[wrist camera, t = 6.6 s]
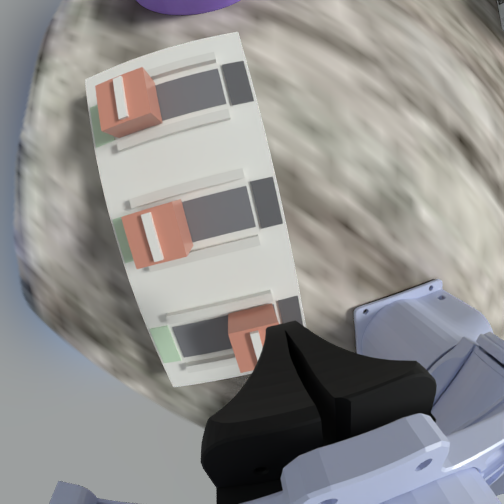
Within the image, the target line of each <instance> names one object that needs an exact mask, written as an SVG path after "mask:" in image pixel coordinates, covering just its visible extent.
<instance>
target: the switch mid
mask: <svg viewBox="0 0 504 504" xmlns="http://www.w3.org/2000/svg"><path fill="white" fill-rule="evenodd" d="M121 219H122V222H123V226H124V229H125V233H126V236H127V240H128V243H129V247H130V250H131V253H132V256H133V260H134V263H135V266H136V269H140V268H144V267H148V266H152V265H156V264H160V263H164V262H168V261H172V260H176V259H180V258H184V257H187V256H188V254H189V252H190V251H191V249H192V247H193V242H192V239H191V235H190V231H189V228H188V224H187V220H186V216H185V212H184V209H183V205H182V201H181V199H179V200H176V201H172V202H169V203H165V204H162V205H158V206H155V207H151V208H148V209H145V210H141V211H138V212H135V213H132V214H129V215H126V216H123V217H121Z"/></svg>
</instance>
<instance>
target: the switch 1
mask: <svg viewBox="0 0 504 504" xmlns="http://www.w3.org/2000/svg"><path fill="white" fill-rule="evenodd" d="M95 89H96V97H97V105H98V112H99V119H100V125H101V131H102V132H105V133H107V134H110V135H113V136H115V137H118V138H121V137H123V136H126V135H129V134H131V133H134V132H137V131H140V130H143V129H146V128H149V127H152V126H155V125H158V124H161V123H163V122H162V118H161V113H160V108H159V103H158V97H157V92H156V87H155V82H154V81H153V79H152V78H151V77H150V76H149V74H148V73H147V72H146V70H145V69H144V68H143V67H141V68H138V69H135V70H133V71H130V72H127V73H125V74H122V75H120V76H117V77H115V78H112V79H110V80H107V81H105V82H103V83H100V84H98V85H96V86H95Z"/></svg>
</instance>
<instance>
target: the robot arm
mask: <svg viewBox="0 0 504 504" xmlns="http://www.w3.org/2000/svg"><path fill="white" fill-rule="evenodd" d="M430 286H431V287H430ZM429 287H430V289H429ZM365 309H367V311H366V312H365V313H363V311H364V310H365ZM354 324H355V337H356V352H357V353H353V352H350V351H348V350H345V349H342V348H340V347H337V346H335V345H333V344H331V343H329V342H327V341H325V340H324V339H322V338H320V337H319V336H317V335H316V334H314V333H313V332H311V331H310V330H308V329H307V328H306V327H304V326H303V325H302V324H300V323H299V322H297V321H296V320H295V321H291V322H287V323H282V324H278V325H274V326H270V327H267V328H266V335H265V341H264V345H263V348H262V352H261V354H260V357H259V359H258V362H257V364H256V366H255V368H254V370H253V372H252V374H251V376H250V377H249V379H248V380H247V382H246V383H245V385H244V386H243V387H242V389H241V390H240V391H239V393H238V394H237V395H236V396H235V397H234V398H233V399H232V400H231V401H230V402H229V403H228V404H227V405H226V406H225V407H223V408H222V409H221V410H219V411H218V412H217V413H216V414H214V415H213V416H212V417H210V418H209V419H208V421H207V424H206V428H205V431H204V435H203V440H202V447H201V464H202V466H203V469H204V470H205V472H206V473H207V475H208V476H209V478H210V479H211V481H212V482H213V483H214V485H215V486H216V488H217V504H501V502H500V501H499V499H498V498H497V497H496V496H497V495H500V494H504V341H503V340H502V339H500V338H499V337H498V336H496V335H495V334H493V331H492V328H491V326H490V324H489V322H488V320H487V319H486V318H485V316H484V315H483V314H482V313H481V312H479V311H478V310H476V309H475V308H473V307H472V306H470V305H468V304H467V303H465V302H463V301H461V300H460V299H458V298H456V297H455V296H453V295H451V294H450V293H448V292H446V291H444V290H443V289H442V281H441V280H440V279H435V280H433V281H430V282H428V283H425V284H422V285H420V286H417V287H414V288H412V289H409V290H406V291H403V292H401V293H398V294H395V295H392V296H389V297H386V298H383V299H380V300H377V301H374V302H371V303H368V304H365V305H362V306H359V307H357V308H356V309H355V310H354ZM49 504H135V503H127V502H118V501H112V500H106V499H100V498H97V497H96V496H95V495H94V494H93V493H92V492H91V491H90V490H88V489H87V488H85V487H83V486H80V485H76V484H71V483H67V482H63V481H58V483H57V485H56V488H55V490H54V493H53V495H52V498H51V500H50V503H49Z"/></svg>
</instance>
